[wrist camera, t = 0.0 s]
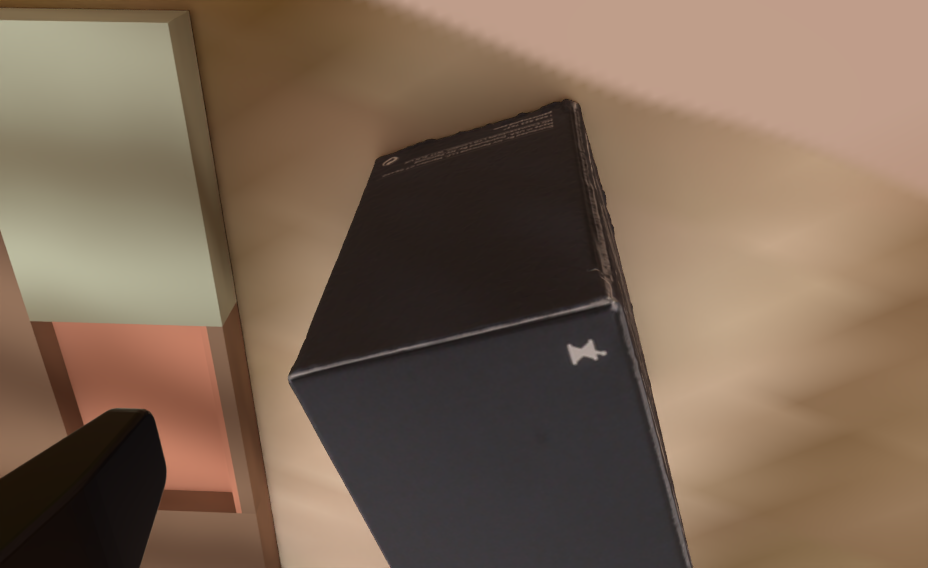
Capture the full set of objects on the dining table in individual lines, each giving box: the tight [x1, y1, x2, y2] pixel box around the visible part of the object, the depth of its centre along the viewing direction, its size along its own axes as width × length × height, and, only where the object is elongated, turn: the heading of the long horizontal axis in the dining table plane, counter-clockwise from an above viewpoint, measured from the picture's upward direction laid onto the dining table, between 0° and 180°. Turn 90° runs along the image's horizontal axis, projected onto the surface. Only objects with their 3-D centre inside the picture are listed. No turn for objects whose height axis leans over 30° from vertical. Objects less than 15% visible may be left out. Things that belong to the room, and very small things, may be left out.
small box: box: [288, 99, 693, 568], centre depth 20 cm, size 11×6×10 cm, turn 18°
